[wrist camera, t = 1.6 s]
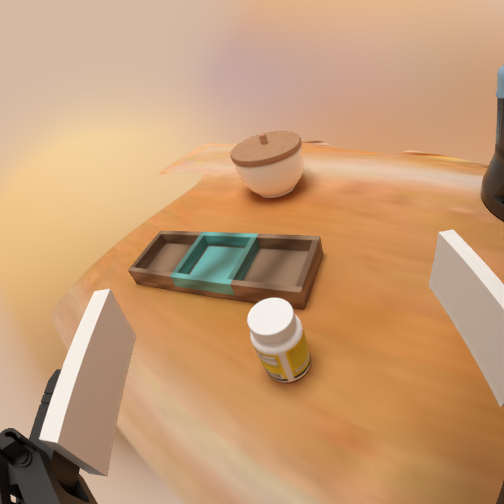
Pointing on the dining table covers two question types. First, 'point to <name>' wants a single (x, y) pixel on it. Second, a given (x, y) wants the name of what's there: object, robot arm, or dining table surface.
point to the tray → (232, 265)
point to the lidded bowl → (269, 163)
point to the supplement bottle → (279, 339)
